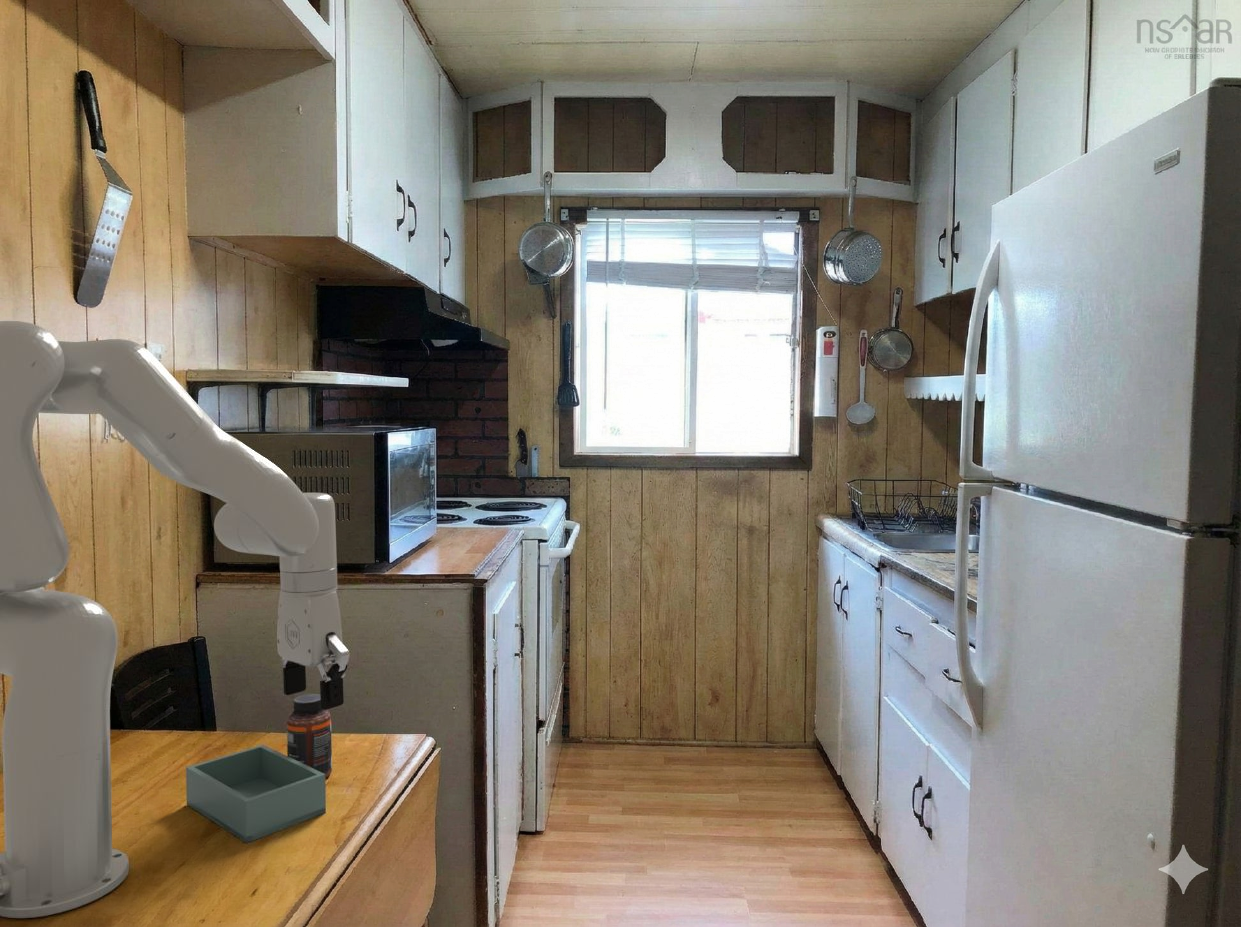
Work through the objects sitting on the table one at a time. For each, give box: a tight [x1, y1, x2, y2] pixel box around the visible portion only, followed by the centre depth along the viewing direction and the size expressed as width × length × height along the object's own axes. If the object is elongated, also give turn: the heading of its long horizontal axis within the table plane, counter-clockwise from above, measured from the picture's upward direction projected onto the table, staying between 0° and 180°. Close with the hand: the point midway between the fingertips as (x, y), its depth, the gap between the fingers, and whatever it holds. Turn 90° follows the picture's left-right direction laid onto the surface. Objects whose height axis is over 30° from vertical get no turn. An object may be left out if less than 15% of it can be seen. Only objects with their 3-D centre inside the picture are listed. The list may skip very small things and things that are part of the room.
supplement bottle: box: [286, 693, 333, 779], centre depth 118 cm, size 6×6×11 cm
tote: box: [185, 744, 327, 844], centre depth 108 cm, size 10×16×5 cm, turn 51°
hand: (313, 699), depth 119 cm, fingers open, 9 cm apart
